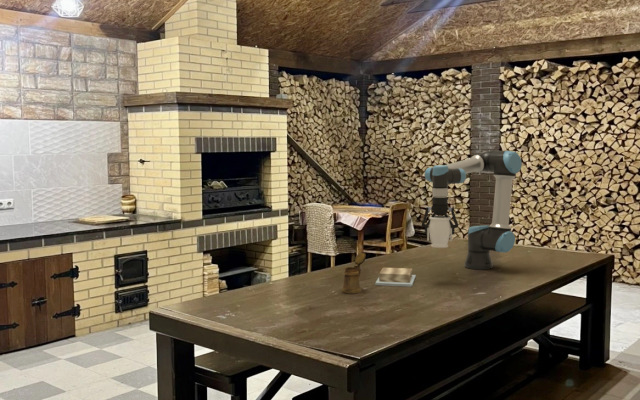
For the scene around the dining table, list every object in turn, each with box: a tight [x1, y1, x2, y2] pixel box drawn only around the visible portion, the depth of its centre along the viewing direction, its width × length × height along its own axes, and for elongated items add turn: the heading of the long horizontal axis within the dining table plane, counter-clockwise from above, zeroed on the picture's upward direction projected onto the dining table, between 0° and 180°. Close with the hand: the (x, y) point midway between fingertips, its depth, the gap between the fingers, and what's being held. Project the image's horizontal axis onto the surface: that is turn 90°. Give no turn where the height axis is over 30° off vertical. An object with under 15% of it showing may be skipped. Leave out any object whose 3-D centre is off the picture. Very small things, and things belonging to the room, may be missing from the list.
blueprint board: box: [374, 274, 417, 288], centre depth 338 cm, size 18×22×1 cm
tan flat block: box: [378, 267, 413, 283], centre depth 337 cm, size 15×15×4 cm
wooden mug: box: [341, 251, 367, 294], centre depth 317 cm, size 9×14×18 cm, turn 135°
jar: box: [428, 215, 452, 249], centre depth 332 cm, size 11×10×15 cm
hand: (439, 240), depth 333 cm, fingers closed on jar, 10 cm apart
